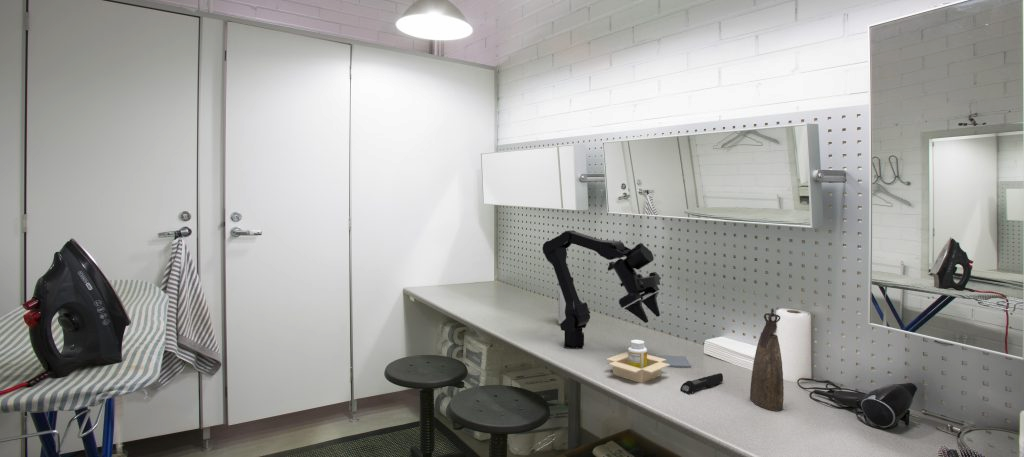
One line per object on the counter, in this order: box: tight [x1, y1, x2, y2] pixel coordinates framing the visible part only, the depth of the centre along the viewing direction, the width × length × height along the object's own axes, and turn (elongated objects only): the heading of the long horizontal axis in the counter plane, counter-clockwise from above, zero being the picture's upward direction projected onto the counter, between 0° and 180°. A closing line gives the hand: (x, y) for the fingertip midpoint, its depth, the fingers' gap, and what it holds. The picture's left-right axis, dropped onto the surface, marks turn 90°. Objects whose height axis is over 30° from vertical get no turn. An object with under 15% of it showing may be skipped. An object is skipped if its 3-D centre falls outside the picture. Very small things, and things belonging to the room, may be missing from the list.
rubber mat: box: [653, 354, 692, 369], centre depth 170 cm, size 10×10×1 cm
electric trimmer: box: [679, 372, 724, 395], centre depth 148 cm, size 4×16×3 cm, turn 121°
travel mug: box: [557, 276, 574, 326], centre depth 218 cm, size 6×7×20 cm
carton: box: [606, 351, 670, 384], centre depth 159 cm, size 16×16×4 cm
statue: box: [749, 308, 785, 412], centre depth 135 cm, size 9×8×25 cm
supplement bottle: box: [627, 339, 648, 369], centre depth 158 cm, size 6×6×10 cm
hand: (653, 319), depth 167 cm, fingers open, 9 cm apart
